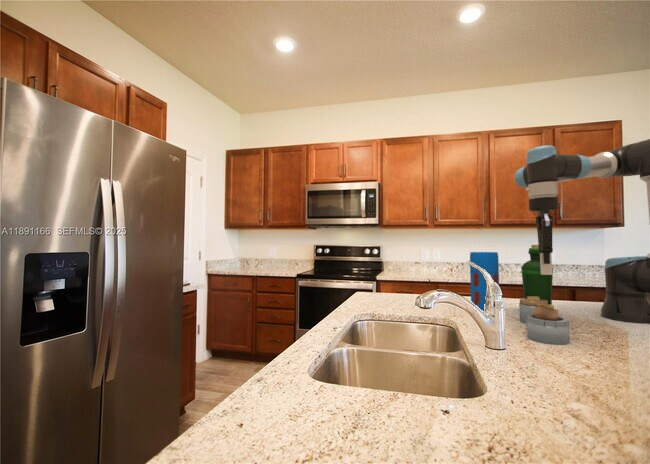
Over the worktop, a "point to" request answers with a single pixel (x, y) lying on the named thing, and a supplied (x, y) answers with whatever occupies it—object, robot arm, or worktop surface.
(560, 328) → the canister
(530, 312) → the canister
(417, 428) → the worktop surface
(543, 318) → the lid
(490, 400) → the worktop surface
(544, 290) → the bottle
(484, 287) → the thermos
